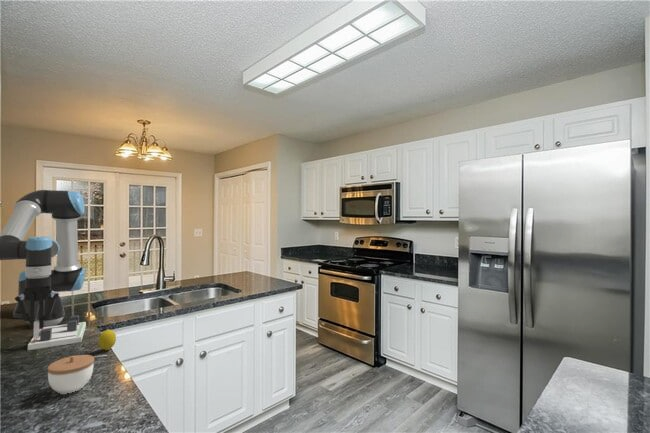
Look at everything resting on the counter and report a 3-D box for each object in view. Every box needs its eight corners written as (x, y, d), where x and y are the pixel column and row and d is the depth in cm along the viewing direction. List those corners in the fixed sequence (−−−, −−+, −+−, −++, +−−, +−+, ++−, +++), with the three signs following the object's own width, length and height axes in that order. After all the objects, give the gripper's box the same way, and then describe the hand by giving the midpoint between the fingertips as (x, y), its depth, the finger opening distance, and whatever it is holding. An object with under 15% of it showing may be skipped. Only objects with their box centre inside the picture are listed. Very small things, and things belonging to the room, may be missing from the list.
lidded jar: (40, 402, 86) (41, 367, 86) (55, 383, 96) (56, 352, 96) (88, 394, 91) (88, 361, 91) (97, 377, 100) (98, 347, 101)
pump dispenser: (38, 330, 140) (39, 296, 140) (32, 325, 146) (33, 292, 147) (67, 324, 148) (68, 292, 148) (60, 320, 154) (61, 288, 155)
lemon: (113, 346, 124) (114, 325, 124) (117, 350, 120) (117, 329, 120) (96, 350, 120) (97, 329, 121) (99, 354, 116) (100, 333, 117)
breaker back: (70, 323, 142) (70, 316, 142) (78, 322, 144) (79, 315, 144) (69, 325, 140) (69, 317, 140) (78, 324, 141) (78, 316, 141)
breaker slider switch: (41, 338, 125) (41, 329, 125) (51, 336, 127) (51, 328, 127) (40, 340, 122) (40, 331, 122) (50, 339, 124) (50, 330, 124)
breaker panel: (39, 332, 138) (40, 327, 138) (85, 326, 146) (86, 321, 147) (27, 350, 119) (27, 344, 119) (81, 341, 128) (81, 336, 128)
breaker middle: (68, 329, 136) (68, 320, 136) (76, 327, 137) (77, 319, 137) (67, 331, 133) (67, 322, 133) (76, 330, 135) (76, 321, 135)
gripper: (12, 279, 117) (10, 344, 116) (58, 276, 124) (56, 337, 123) (18, 276, 123) (16, 337, 123) (61, 273, 130) (60, 331, 130)
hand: (36, 337), depth 123 cm, fingers closed
